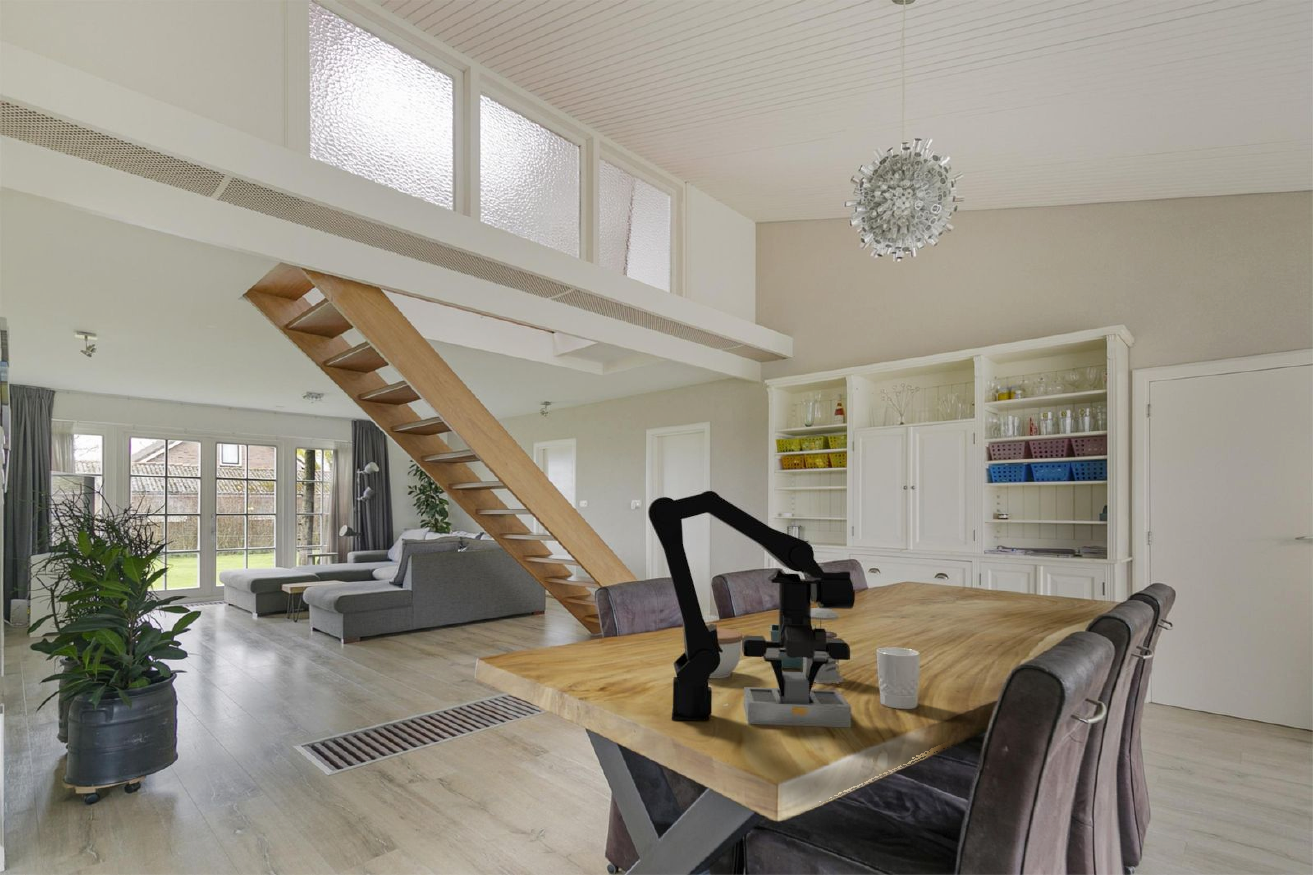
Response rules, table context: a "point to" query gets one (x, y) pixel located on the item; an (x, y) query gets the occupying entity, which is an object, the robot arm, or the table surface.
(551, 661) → the table surface
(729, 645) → the lidded bowl
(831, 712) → the rack
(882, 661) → the white cup
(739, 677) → the table surface
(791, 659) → the flower pot
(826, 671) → the french press
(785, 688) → the grey upright box
